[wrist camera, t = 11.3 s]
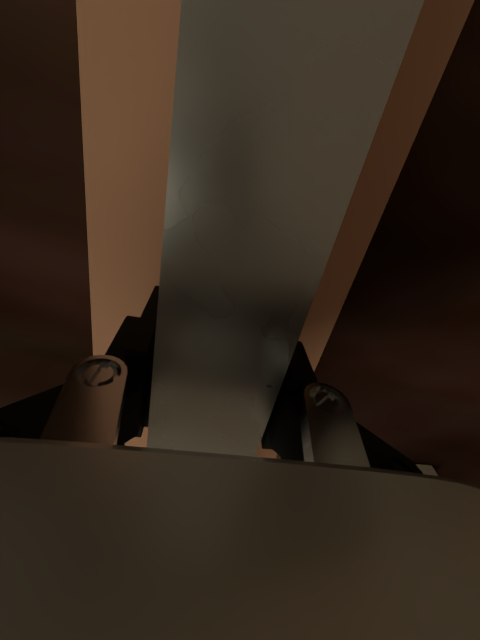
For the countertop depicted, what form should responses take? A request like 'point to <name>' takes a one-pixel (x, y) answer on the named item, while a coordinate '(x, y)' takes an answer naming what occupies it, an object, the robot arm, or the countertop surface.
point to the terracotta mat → (154, 147)
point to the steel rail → (258, 197)
